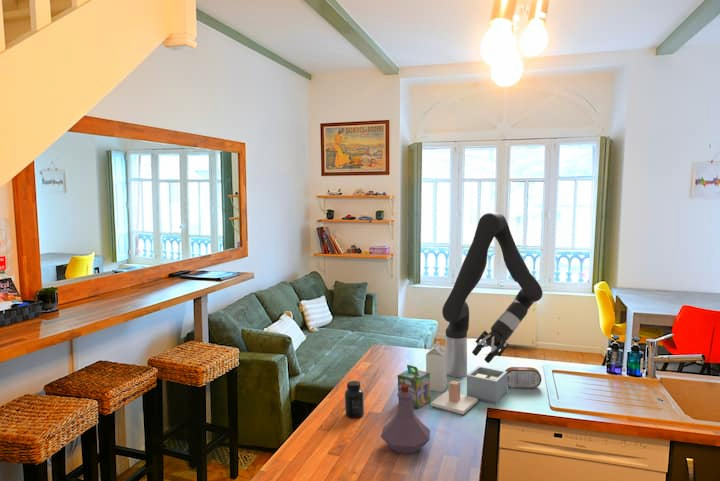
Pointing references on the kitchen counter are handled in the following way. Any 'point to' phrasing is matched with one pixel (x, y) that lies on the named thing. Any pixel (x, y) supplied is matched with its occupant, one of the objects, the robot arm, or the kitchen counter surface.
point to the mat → (448, 410)
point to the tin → (523, 377)
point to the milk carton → (437, 367)
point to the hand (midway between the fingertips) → (479, 357)
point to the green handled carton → (416, 385)
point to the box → (487, 384)
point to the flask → (405, 427)
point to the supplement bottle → (354, 400)
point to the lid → (454, 399)
